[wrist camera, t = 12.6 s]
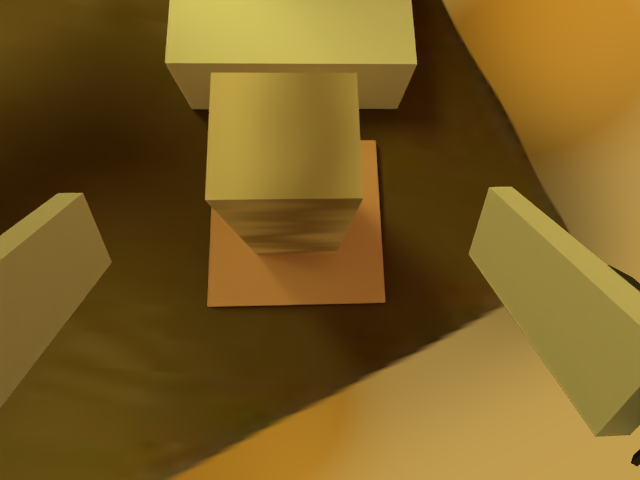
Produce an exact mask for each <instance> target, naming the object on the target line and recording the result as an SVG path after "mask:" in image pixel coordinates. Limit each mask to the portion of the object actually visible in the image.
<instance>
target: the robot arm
mask: <svg viewBox="0 0 640 480" xmlns="http://www.w3.org/2000/svg"><path fill="white" fill-rule="evenodd" d="M469 256H470V257H471V258H472V260H473V261H474V263H475V264H476V266H477V267H478V269H479V270H480V271H481V273H482V274H483V276H484V277H485V279H486V280H487V281H488V283H489V284H490V286H491V287H492V289H493V290H494V292H495V293H496V294H497V296H498V297H499V299H500V300H501V302H502V303H503V304H504V306H505V307H506V309H507V310H508V312H509V313H510V315H511V316H512V317H513V319H514V320H515V322H516V323H517V325H518V326H519V327H520V329H521V330H522V332H523V333H524V335H525V336H526V338H527V339H528V340H529V342H530V343H531V345H532V346H533V348H534V349H535V350H536V352H537V353H538V355H539V356H540V357H541V359H542V360H543V362H544V363H545V365H546V366H547V368H548V369H549V370H550V372H551V373H552V375H553V376H554V378H555V379H556V381H557V382H558V383H559V385H560V386H561V388H562V389H563V391H564V392H565V394H566V395H567V396H568V398H569V399H570V401H571V402H572V404H573V405H574V406H575V408H576V409H577V411H578V412H579V414H580V415H581V417H582V418H583V419H584V421H585V422H586V424H587V425H588V427H589V428H590V429H591V431H592V432H593V434H594V435H595V436H617V435H630V434H631V433H632V432H633V431H634V430H635V429H636V428H637V427H638V426H639V425H640V284H639V283H638V282H637V281H636V280H635V279H634V278H632V277H631V276H629V275H627V274H625V273H623V272H621V271H619V270H617V269H615V268H613V267H612V266H610V265H607V264H605V263H604V262H603V261H601V260H600V259H599V258H598V257H597V256H595V255H594V254H593V253H592V252H590V251H589V250H588V249H587V248H586V247H584V246H583V245H582V244H581V243H580V242H578V241H577V240H576V239H574V237H572V236H571V235H570V234H569V233H567V232H566V231H565V230H564V229H563V228H561V227H560V226H559V225H558V224H557V223H555V222H554V221H553V220H552V219H550V218H549V217H548V216H547V215H546V214H544V213H543V212H542V211H541V210H539V209H538V208H537V207H536V206H535V205H533V204H532V203H531V202H530V201H528V200H527V199H526V198H525V197H524V196H522V195H521V194H520V193H519V192H518V191H516V190H515V189H514V188H513V187H489V189H488V193H487V196H486V199H485V202H484V206H483V209H482V212H481V215H480V219H479V222H478V225H477V229H476V232H475V235H474V238H473V242H472V245H471V248H470V251H469ZM111 263H112V261H111V259H110V256H109V254H108V252H107V249H106V247H105V244H104V242H103V240H102V237H101V235H100V232H99V230H98V228H97V225H96V223H95V220H94V218H93V216H92V213H91V211H90V209H89V206H88V204H87V201H86V199H85V197H84V194H83V193H58V194H56V195H55V196H53V197H52V198H51V199H49V200H48V201H47V202H45V203H44V204H43V205H41V206H40V207H38V208H37V209H36V210H34V211H33V212H32V213H30V214H29V215H28V216H26V217H25V218H23V219H22V220H21V221H19V222H18V223H17V224H15V225H14V226H13V227H11V228H10V229H8V230H7V231H6V232H4V233H3V234H2V235H0V408H1V407H2V405H3V404H4V403H5V401H6V400H7V399H8V398H9V396H10V395H11V394H12V392H13V391H14V390H15V388H16V387H17V386H18V384H19V383H20V382H21V381H22V379H23V378H24V377H25V375H26V374H27V373H28V371H29V370H30V369H31V367H32V366H33V365H34V364H35V362H36V361H37V360H38V358H39V357H40V356H41V354H42V353H43V352H44V350H45V349H46V348H47V347H48V345H49V344H50V343H51V341H52V340H53V339H54V337H55V336H56V335H57V333H58V332H59V331H60V330H61V328H62V327H63V326H64V324H65V323H66V322H67V320H68V319H69V318H70V317H71V315H72V314H73V313H74V311H75V310H76V309H77V307H78V306H79V305H80V303H81V302H82V301H83V300H84V298H85V297H86V296H87V294H88V293H89V292H90V290H91V289H92V288H93V286H94V285H95V284H96V283H97V281H98V280H99V279H100V277H101V276H102V275H103V273H104V272H105V271H106V269H107V268H108V267H109V266H110V264H111ZM631 463H632V464H634V465H636V466H638V465H639V464H640V450H639V451H637V453H635V454H634V455H633V458H632V461H631Z"/></svg>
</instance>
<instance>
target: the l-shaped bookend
mask: <svg viewBox="0 0 640 480" xmlns="http://www.w3.org/2000/svg"><path fill="white" fill-rule="evenodd" d="M165 64H166V66H167V68H168V69H169V71H170V73H171V74H172V76H173V78H174V80H175V81H176V83H177V85H178V87H179V88H180V90H181V92H182V93H183V95H184V97H185V99H186V100H187V102H188V104H189V105H190V107H191V109H209V103H210V81H211V73H357V85H358V105H359V109H397V108H398V106H399V104H400V102H401V99H402V97H403V95H404V93H405V90H406V88H407V86H408V84H409V81H410V79H411V77H412V75H413V72H414V70H415V68H416V66H417V57H416V46H415V35H414V24H413V13H412V2H411V0H170V4H169V17H168V29H167V42H166V55H165Z"/></svg>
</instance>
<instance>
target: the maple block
mask: <svg viewBox="0 0 640 480" xmlns="http://www.w3.org/2000/svg"><path fill="white" fill-rule="evenodd" d="M362 200H363V183H362V164H361V144H360V124H359V105H358V85H357V73H211V81H210V103H209V124H208V146H207V167H206V189H205V201H206V202H207V203H208V204H209V205H210V206H211V207H212V208H213V209H214V210H215V211H216V212H217V213H218V214H219V215H220V216H221V218H222V219H223V220H224V221H225V222H226V223H227V224H228V225H229V226H230V227H231V228H232V229H233V230H234V231H235V232H236V233H237V234H238V236H239V237H240V238H241V239H242V240H243V241H244V242H245V243H246V244H247V245H248V246H249V247H250V248H251V249H252V250H253V251H254V252H255V253H256V255H273V254H330V253H336V252H337V250H338V248H339V246H340V244H341V242H342V240H343V238H344V236H345V234H346V232H347V230H348V228H349V226H350V224H351V222H352V220H353V218H354V216H355V214H356V212H357V210H358V208H359V206H360V204H361V202H362Z"/></svg>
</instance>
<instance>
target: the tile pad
mask: <svg viewBox="0 0 640 480" xmlns="http://www.w3.org/2000/svg"><path fill="white" fill-rule="evenodd" d="M360 144H361V164H362V183H363V200H362V202H361V204H360V206H359V208H358V210H357V212H356V214H355V216H354V218H353V220H352V222H351V224H350V226H349V228H348V230H347V232H346V234H345V236H344V238H343V240H342V242H341V244H340V246H339V248H338V250H337V252H336V253H330V254H273V255H256V253H255V252H254V251H253V250H252V249H251V248H250V247H249V246H248V245H247V244H246V243H245V242H244V241H243V240H242V239H241V238H240V237H239V236H238V234H237V233H236V232H235V231H234V230H233V229H232V228H231V227H230V226H229V225H228V224H227V223H226V222H225V221H224V220H223V219H222V218H221V216H220V215H219V214H218V213H217V212H216V211H215V210H214V209H213V208H212V207H211V230H210V253H209V276H208V300H207V307H223V306H267V305H311V304H355V303H385V287H384V270H383V253H382V237H381V220H380V204H379V187H378V170H377V154H376V140H360Z"/></svg>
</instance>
